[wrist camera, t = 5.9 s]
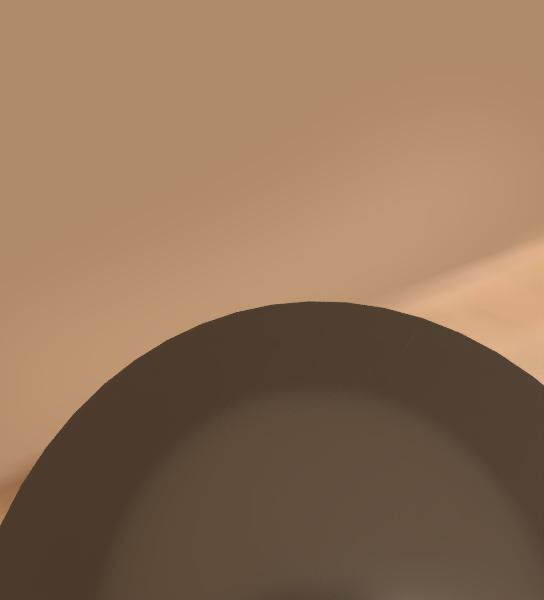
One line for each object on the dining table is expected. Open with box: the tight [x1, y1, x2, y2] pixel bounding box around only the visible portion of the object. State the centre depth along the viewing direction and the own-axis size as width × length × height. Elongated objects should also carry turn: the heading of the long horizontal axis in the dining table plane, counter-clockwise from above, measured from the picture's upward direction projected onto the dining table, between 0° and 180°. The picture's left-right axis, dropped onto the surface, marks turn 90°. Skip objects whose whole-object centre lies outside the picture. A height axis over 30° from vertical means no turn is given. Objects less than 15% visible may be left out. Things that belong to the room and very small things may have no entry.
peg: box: [0, 301, 544, 600], centre depth 8 cm, size 4×4×13 cm
